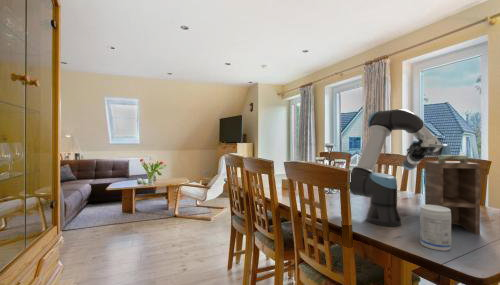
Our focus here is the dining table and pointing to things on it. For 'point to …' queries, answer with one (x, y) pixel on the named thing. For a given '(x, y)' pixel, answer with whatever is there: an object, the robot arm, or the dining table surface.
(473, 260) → the dining table surface
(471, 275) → the dining table surface
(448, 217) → the supplement tub
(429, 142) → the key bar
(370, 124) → the robot arm
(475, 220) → the shelf
